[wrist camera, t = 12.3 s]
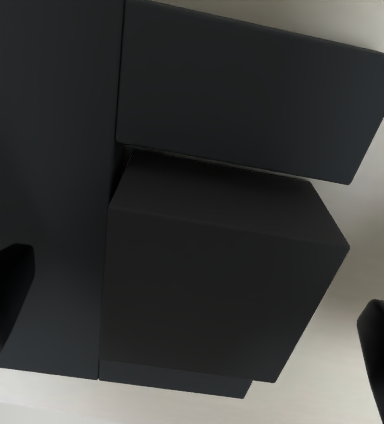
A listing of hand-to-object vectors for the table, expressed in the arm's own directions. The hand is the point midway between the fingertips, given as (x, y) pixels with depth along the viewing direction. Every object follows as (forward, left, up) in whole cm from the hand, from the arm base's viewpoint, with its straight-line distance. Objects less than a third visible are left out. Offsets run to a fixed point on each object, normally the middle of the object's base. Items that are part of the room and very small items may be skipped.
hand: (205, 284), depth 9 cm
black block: (0, 0, -2) cm, 2 cm away
